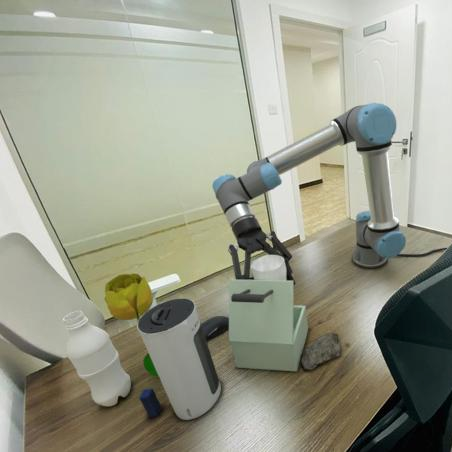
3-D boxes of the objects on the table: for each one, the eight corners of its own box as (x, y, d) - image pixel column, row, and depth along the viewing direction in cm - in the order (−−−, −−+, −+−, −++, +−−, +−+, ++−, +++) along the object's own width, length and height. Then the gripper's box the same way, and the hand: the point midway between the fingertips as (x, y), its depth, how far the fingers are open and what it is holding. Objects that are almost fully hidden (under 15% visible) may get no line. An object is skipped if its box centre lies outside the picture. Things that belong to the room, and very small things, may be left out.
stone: (305, 374, 67) (304, 366, 66) (294, 351, 74) (293, 343, 73) (352, 353, 72) (352, 345, 71) (338, 333, 79) (338, 325, 78)
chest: (257, 327, 83) (252, 303, 79) (308, 329, 81) (305, 305, 77) (236, 367, 70) (229, 341, 66) (297, 371, 68) (293, 344, 64)
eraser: (162, 407, 61) (153, 387, 58) (158, 417, 59) (148, 396, 56) (153, 408, 60) (143, 388, 58) (148, 418, 58) (137, 398, 56)
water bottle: (111, 383, 67) (69, 305, 57) (140, 380, 67) (103, 302, 58) (89, 412, 60) (37, 329, 51) (121, 408, 61) (76, 326, 51)
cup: (282, 311, 69) (277, 273, 64) (251, 308, 71) (244, 270, 66) (294, 291, 77) (290, 255, 72) (266, 288, 79) (260, 253, 74)
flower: (141, 376, 69) (96, 280, 57) (175, 356, 74) (139, 265, 62) (149, 397, 63) (101, 296, 52) (185, 375, 68) (148, 278, 57)
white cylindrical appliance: (212, 419, 58) (180, 328, 48) (164, 424, 57) (121, 334, 47) (226, 375, 67) (202, 293, 58) (185, 380, 67) (154, 297, 57)
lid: (230, 279, 67) (210, 286, 58) (293, 280, 65) (282, 288, 56) (230, 339, 66) (210, 355, 58) (293, 342, 64) (282, 360, 56)
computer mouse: (242, 337, 79) (239, 327, 78) (178, 371, 69) (174, 360, 68) (228, 316, 88) (225, 307, 87) (170, 344, 78) (166, 334, 77)
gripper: (274, 219, 84) (306, 280, 79) (203, 240, 72) (236, 315, 66) (280, 207, 79) (315, 272, 73) (205, 227, 66) (240, 308, 61)
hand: (277, 292), depth 70 cm, fingers closed on cup, 9 cm apart
